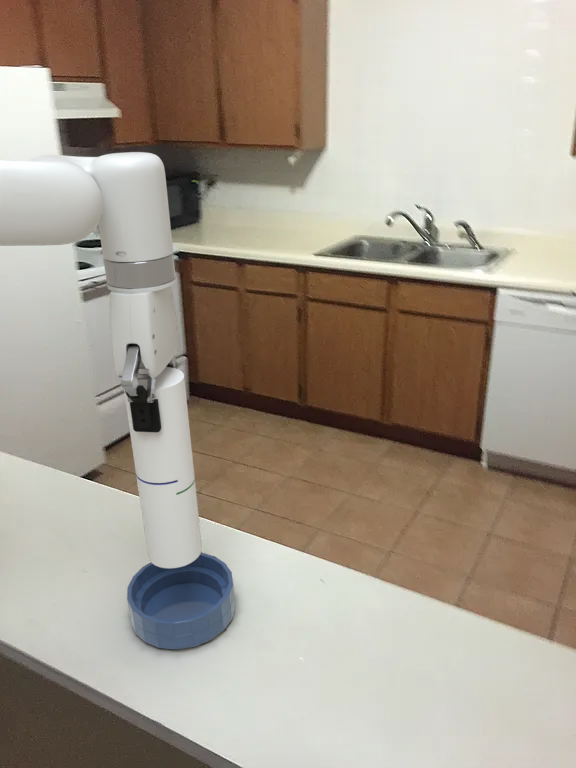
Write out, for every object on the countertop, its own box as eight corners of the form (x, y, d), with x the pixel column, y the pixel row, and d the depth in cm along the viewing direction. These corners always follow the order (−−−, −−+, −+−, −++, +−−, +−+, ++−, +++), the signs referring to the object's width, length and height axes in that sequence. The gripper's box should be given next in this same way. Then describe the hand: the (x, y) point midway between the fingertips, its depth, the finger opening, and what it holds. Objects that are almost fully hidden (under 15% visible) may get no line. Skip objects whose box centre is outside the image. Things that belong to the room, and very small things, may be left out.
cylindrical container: (143, 542, 91) (118, 372, 81) (194, 529, 93) (177, 363, 83) (152, 574, 85) (127, 395, 75) (207, 559, 87) (190, 384, 77)
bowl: (116, 648, 87) (111, 618, 85) (151, 576, 100) (147, 548, 98) (222, 656, 85) (219, 626, 83) (243, 582, 98) (241, 554, 96)
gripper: (134, 253, 82) (151, 385, 89) (74, 293, 66) (100, 450, 73) (194, 253, 81) (206, 387, 88) (147, 293, 65) (166, 452, 72)
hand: (158, 414), depth 81 cm, fingers closed on cylindrical container, 7 cm apart
